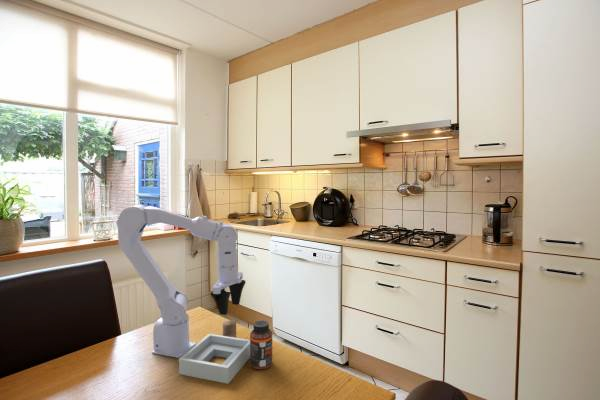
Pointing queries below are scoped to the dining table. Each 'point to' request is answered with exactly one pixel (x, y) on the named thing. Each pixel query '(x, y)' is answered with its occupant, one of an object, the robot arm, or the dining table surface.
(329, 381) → the dining table surface
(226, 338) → the bore box
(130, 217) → the robot arm
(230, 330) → the peg
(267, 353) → the supplement bottle
